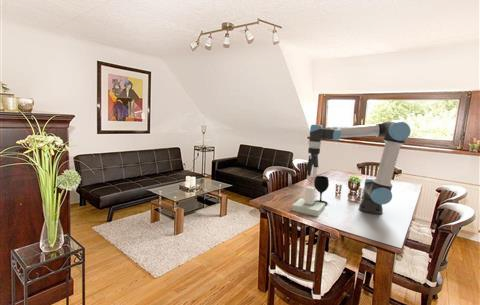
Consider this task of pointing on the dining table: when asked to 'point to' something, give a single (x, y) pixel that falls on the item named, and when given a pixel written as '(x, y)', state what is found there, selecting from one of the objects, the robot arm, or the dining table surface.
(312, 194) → the plug
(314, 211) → the socket plate
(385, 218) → the dining table surface
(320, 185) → the wine glass
